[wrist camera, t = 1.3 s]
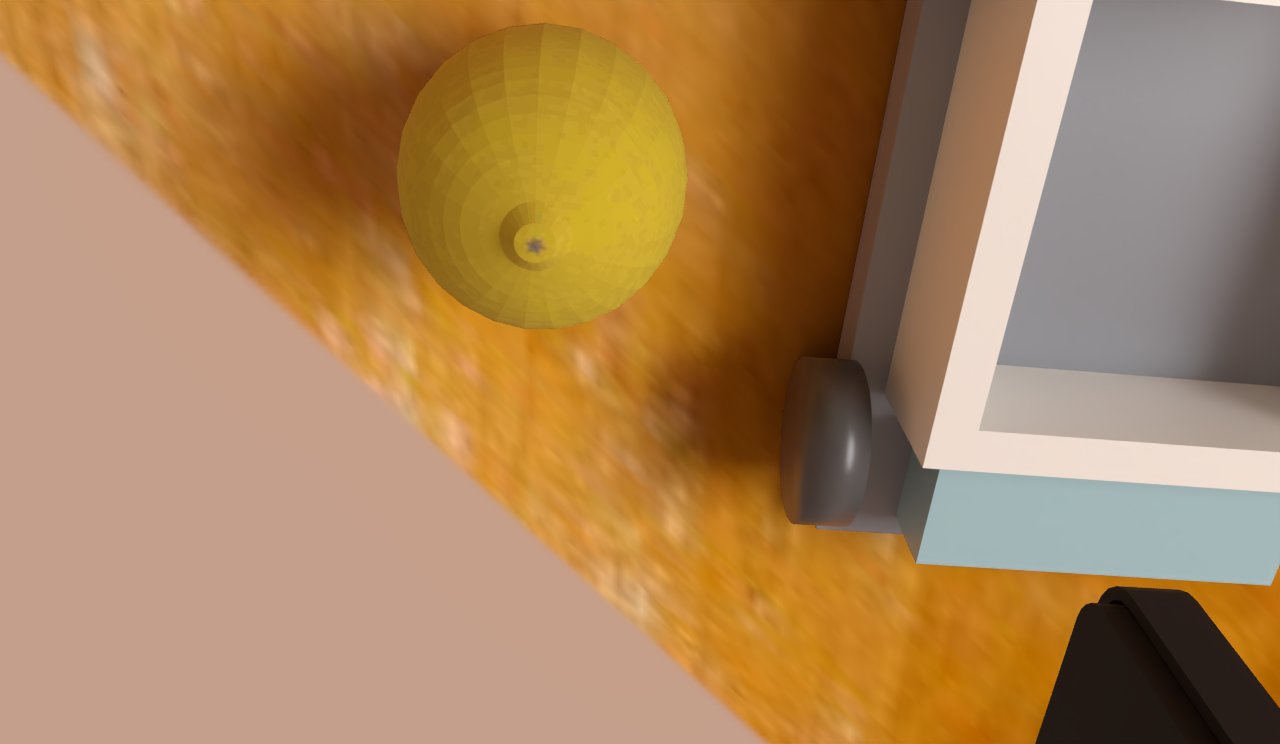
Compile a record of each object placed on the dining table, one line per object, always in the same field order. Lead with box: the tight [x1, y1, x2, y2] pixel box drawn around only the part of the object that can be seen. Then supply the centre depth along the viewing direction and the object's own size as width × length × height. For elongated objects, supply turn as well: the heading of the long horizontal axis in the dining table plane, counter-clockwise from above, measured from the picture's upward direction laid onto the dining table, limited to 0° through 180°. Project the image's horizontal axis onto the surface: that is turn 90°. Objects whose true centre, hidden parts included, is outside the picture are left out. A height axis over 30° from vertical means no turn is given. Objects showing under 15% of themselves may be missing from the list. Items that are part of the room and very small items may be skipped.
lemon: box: [396, 23, 688, 329], centre depth 22 cm, size 6×6×8 cm
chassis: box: [780, 0, 1280, 585], centre depth 24 cm, size 19×15×5 cm
